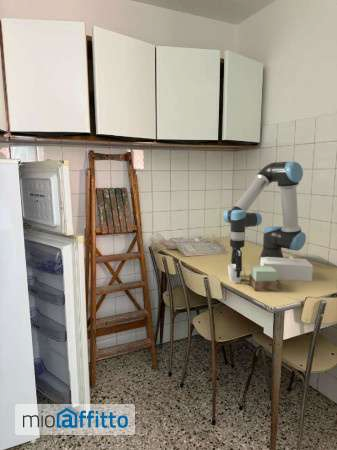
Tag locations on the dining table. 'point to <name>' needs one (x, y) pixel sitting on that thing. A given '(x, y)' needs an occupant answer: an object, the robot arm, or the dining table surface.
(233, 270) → the cup
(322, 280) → the dining table surface
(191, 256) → the dining table surface
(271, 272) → the sage block
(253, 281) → the walnut block
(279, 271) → the elongated white prism
